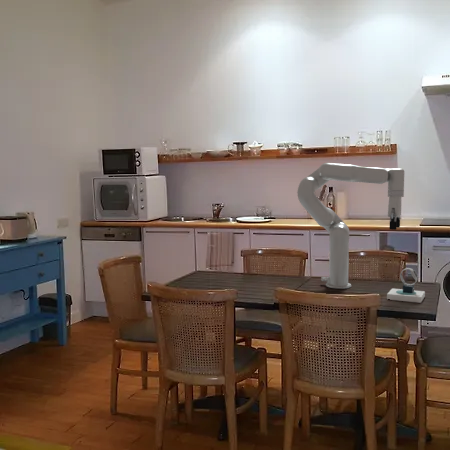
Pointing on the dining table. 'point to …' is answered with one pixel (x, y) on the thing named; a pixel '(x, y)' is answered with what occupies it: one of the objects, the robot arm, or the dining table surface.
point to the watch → (409, 287)
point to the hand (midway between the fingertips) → (394, 228)
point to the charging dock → (406, 295)
